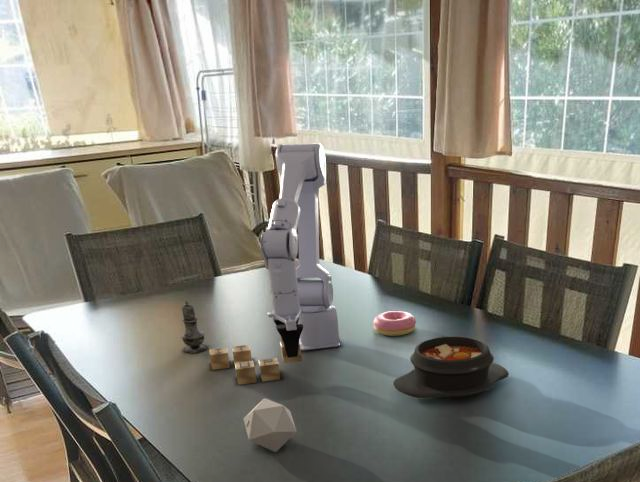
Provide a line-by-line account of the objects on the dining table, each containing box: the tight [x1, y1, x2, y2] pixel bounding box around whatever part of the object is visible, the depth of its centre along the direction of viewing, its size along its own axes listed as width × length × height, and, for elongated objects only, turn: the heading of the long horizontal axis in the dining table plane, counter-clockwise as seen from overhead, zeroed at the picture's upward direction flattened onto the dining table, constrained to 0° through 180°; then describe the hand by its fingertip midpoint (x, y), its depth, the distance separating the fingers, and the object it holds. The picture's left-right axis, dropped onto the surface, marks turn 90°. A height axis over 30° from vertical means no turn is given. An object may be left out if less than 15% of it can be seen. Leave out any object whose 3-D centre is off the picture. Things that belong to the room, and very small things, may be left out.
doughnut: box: [372, 310, 417, 337], centre depth 175 cm, size 11×11×4 cm
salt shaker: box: [180, 300, 207, 354], centre depth 168 cm, size 6×6×12 cm
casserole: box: [392, 335, 510, 399], centre depth 142 cm, size 25×19×8 cm
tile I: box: [208, 346, 231, 371], centre depth 159 cm, size 4×4×4 cm
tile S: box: [279, 340, 303, 364], centre depth 151 cm, size 4×4×4 cm
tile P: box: [258, 357, 281, 383], centre depth 152 cm, size 4×4×4 cm
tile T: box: [231, 344, 253, 364], centre depth 160 cm, size 4×4×4 cm
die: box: [243, 397, 297, 453], centre depth 123 cm, size 8×9×10 cm
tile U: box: [234, 360, 258, 386], centre depth 151 cm, size 4×4×4 cm
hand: (291, 352), depth 151 cm, fingers closed on tile S, 4 cm apart
